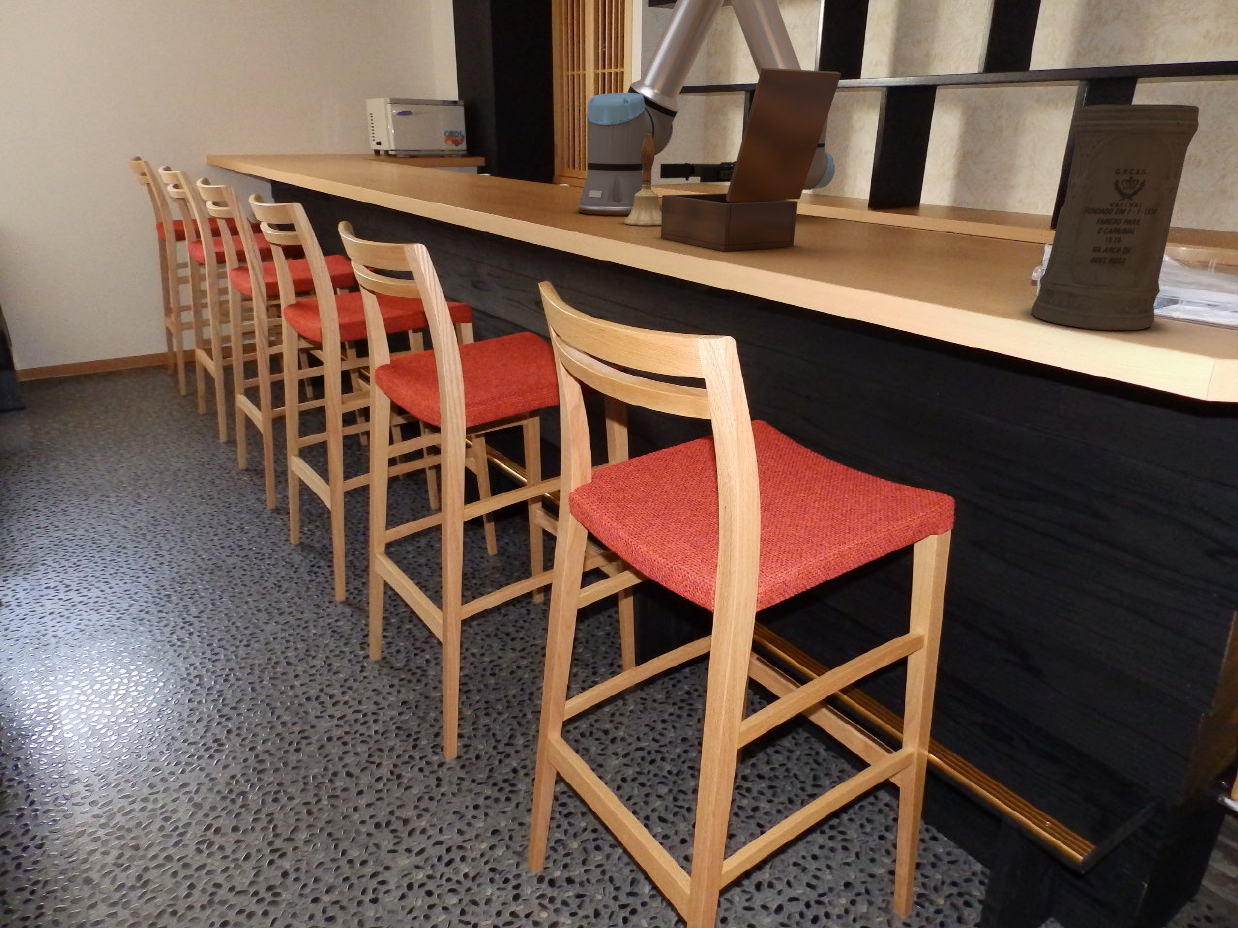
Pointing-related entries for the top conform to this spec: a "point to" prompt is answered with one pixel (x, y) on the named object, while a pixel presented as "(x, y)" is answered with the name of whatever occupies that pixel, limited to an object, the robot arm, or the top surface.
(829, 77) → the chest lid
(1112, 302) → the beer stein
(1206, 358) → the top surface
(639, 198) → the wooden handled brush
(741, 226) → the chest
